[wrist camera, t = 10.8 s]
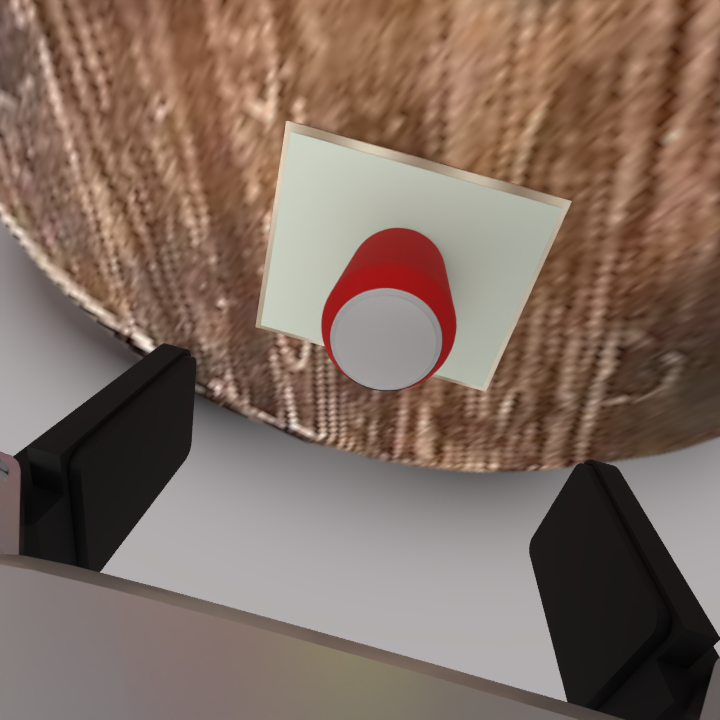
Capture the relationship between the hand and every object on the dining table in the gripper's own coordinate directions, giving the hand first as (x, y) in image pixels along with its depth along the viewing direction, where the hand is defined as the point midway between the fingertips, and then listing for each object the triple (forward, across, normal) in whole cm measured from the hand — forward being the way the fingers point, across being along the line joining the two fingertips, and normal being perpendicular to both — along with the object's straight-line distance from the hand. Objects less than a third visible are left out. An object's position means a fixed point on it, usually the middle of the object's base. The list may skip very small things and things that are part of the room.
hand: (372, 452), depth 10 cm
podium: (+24, 0, +1) cm, 24 cm away
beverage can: (+20, 0, +1) cm, 21 cm away
